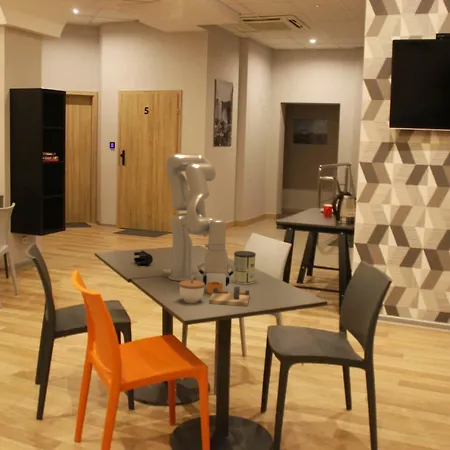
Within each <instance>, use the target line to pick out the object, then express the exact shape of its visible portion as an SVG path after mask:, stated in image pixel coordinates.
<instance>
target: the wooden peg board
mask: <svg viewBox="0 0 450 450" xmlns="http://www.w3.org/2000/svg"><path fill="white" fill-rule="evenodd" d="M217 289H218V288H214V289H213V294H211V296H210V297H209V299H208V302H209V303H208V304H212V305H223V306H224V305H225V306H238V307H239V306H242V307H248V305H249V301H250V298H251V297H250V296H251V294H250V290H249V289H246V290H245V291H244V292H242V291H240V289H241V288H240V286H233V292H229V291H228V290H227V291H226V290H222V291H217Z"/></svg>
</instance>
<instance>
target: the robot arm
mask: <svg viewBox="0 0 450 450" xmlns="http://www.w3.org/2000/svg"><path fill="white" fill-rule="evenodd" d="M165 169H166V175H167V177H168V180H169V185H170V196H171V203H172V204H171V205H172V208H173V210H175V211H178V212H181V211H183V213H177V214H175V215H173V216H172V218H171V219H170V225H171V226H170V228H171V232H172V235H171V236H172V246H171V247H172V249H171V250H172V251H171V252H172V253H171V254H172V255H171V268H169V269H167V268H163V270H162V274H166V275H167V274H169V275H168V276H167V277H168V279H169V280H171V281H176V282H181V281H186V280H191V279H193V280H195V275H194V274H192V267H193V240H192V238H191V237H190V235H189V234H193V235H208V242H207V243H206V244H204V245H205V246H204V247H205V248H207V249H206V251H205V258H204V262H202V263H200V264H198V265H197V266H196V268H197V270H198V272H199V274H201V276H202V282H204V283H205V286H206V285H208V282H207V281H208V276H207V274H224V275H225V276H226V277H225V287H228V285H230V277H231V276H232V275H234V271H235V269H236V267H234V264H231V263H229V260H228V259H229V257H228V251H227V250H226V236H227V235H226V231H227V229H226V227H227V222H226V220H224V219H220V218H217V217H215V216H207V214H206V203H205V200H206V199H207V198H209V196H210V190H209V186H208V182H212V181H214V180H215V178H216V174H217V173H216V172H217V171H216V169H215V167H214V165H213V163H212V162H211V161H210V160H208V159H207V158H206V157H204V156H203V155H201V154H199V153H181V152H180V153H179V152H178V153H174V154H170V155H169V156H168V157H167V159H166V163H165ZM183 172H185V175H184V174H183ZM184 211H185V212H186V213H184ZM202 267H204V270H203V269H202ZM229 268H230V269H231V271H229V270H228V269H229Z"/></svg>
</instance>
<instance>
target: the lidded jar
mask: <svg viewBox="0 0 450 450" xmlns="http://www.w3.org/2000/svg"><path fill="white" fill-rule="evenodd" d="M178 286H179V289H178V290H179V294H180V297H181V298H182V300H183V301H184V302H185V303H187V304H195V303H199V302H200V300H201V299H202V298H203V296H204V293H205V286H206V285H205V283H204V282H203V281H200V280H195V279H194V280H193V279H191V280H186V281H179V283H178Z"/></svg>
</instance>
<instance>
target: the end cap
mask: <svg viewBox="0 0 450 450" xmlns="http://www.w3.org/2000/svg"><path fill="white" fill-rule="evenodd" d="M133 254H134V256H138V257H134V258H133V262H134V263H136V264H137V265H136V264H135V265H136V266H138V265H139V266H145V267H149V266H151V264H153V261H154V257H153V256H152V254H150V253H149V252H146V251H145V250H142V249H141V250H140V251H135V252H133ZM139 266H138V267H139Z"/></svg>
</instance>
